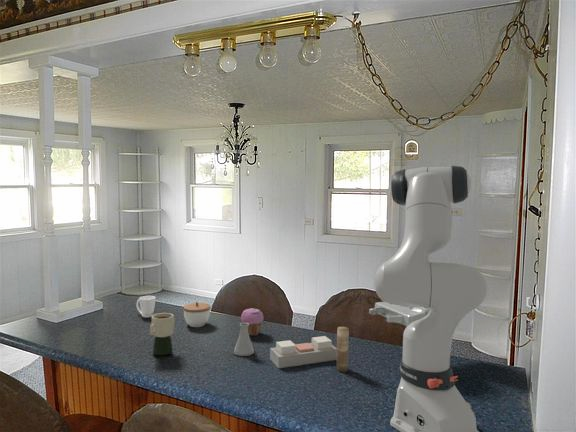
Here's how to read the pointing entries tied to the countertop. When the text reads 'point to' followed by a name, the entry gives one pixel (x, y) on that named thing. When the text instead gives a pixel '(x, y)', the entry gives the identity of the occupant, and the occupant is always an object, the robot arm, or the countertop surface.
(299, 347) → the terracotta key
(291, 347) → the ivory key
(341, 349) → the tan wooden cylinder
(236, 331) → the countertop surface
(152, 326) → the character mug
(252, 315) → the cupcake
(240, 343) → the flask
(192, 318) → the lidded jar
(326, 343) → the ivory key
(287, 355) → the keypad bezel
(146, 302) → the cup
